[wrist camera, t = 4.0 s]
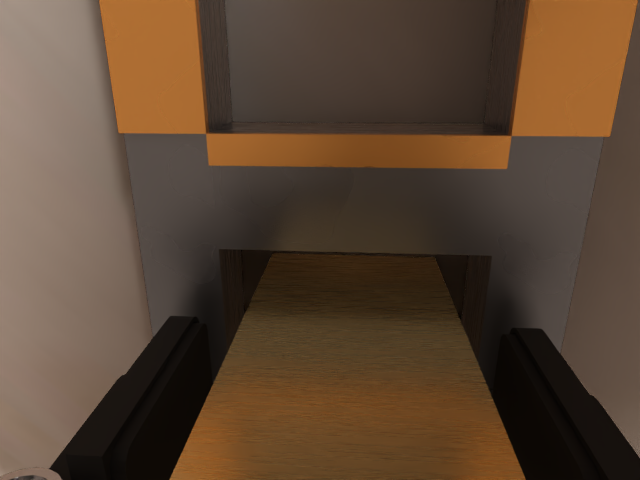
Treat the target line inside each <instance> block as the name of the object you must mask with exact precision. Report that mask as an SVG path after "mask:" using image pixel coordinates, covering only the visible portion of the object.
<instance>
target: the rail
mask: <svg viewBox="0 0 640 480" xmlns="http://www.w3.org/2000/svg"><path fill="white" fill-rule="evenodd" d="M99 3H100V10H101V17H102V23H103V30H104V37H105V44H106V51H107V58H108V64H109V71H110V78H111V85H112V92H113V98H114V105H115V112H116V119H117V126H118V132H119V133H124V139H125V146H126V153H127V160H128V167H129V174H130V181H131V188H132V195H133V202H134V209H135V216H136V223H137V230H138V237H139V244H140V251H141V258H142V265H143V272H144V279H145V286H146V293H147V300H148V307H149V314H150V321H151V328H152V334H153V337H154V336H155V335H156V333H157V332H158V331H159V329H160V328H161V327H162V325H163V324H164V323H165V321H166V320H167V319H168V318H169V317H170V316H195V317H197V318H198V320H199V323H205V324H206V326H207V330H208V340H209V350H210V360H211V371H212V381H213V383H214V381H215V379H216V377H217V374H218V372H219V370H220V368H221V366H222V363H223V361H224V359H225V357H226V355H227V352H228V350H229V348H230V346H231V344H232V341H233V339H234V337H235V335H236V333H237V330H238V328H239V326H240V324H241V322H242V319H243V317H244V315H245V309H244V293H243V278H242V263H241V250H278V251H319V252H360V253H401V254H442V255H469V256H468V265H467V273H466V282H465V291H464V300H463V308H462V317H461V323H462V325H463V328H464V330H465V333H466V335H467V338H468V340H469V342H470V345H471V347H472V350H473V352H474V355H475V357H476V360H477V362H478V364H479V367H480V369H481V372H482V374H483V377H484V379H485V382H486V384H487V386H488V389H489V391H490V394H491V396H492V392H493V385H494V378H495V372H496V365H497V358H498V351H499V345H500V339H501V336H502V335H503V334H509V333H510V331H511V329H512V328H540V329H542V330H543V331H544V332H545V333H546V334H547V336H548V337H549V339H550V340H551V341H552V343H553V344H554V346H555V347H556V348H557V350H558V351H559V353H561V348H562V343H563V338H564V333H565V328H566V323H567V318H568V313H569V308H570V303H571V298H572V294H573V289H574V284H575V279H576V274H577V269H578V264H579V259H580V254H581V249H582V244H583V239H584V234H585V229H586V224H587V219H588V214H589V209H590V204H591V199H592V194H593V189H594V184H595V179H596V174H597V169H598V164H599V159H600V154H601V150H602V145H603V140H604V137H610V134H611V129H612V124H613V119H614V115H615V110H616V105H617V100H618V95H619V90H620V85H621V80H622V76H623V71H624V66H625V61H626V56H627V51H628V46H629V42H630V37H631V32H632V27H633V22H634V17H635V12H636V7H637V3H638V0H498V1H497V10H496V18H495V27H494V36H493V45H492V53H491V62H490V71H489V80H488V89H487V97H486V106H485V115H484V124H456V123H268V122H232V108H231V93H230V77H229V62H228V47H227V31H226V16H225V0H99Z"/></svg>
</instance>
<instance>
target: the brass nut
mask: <svg viewBox="0 0 640 480" xmlns="http://www.w3.org/2000/svg"><path fill="white" fill-rule="evenodd" d="M170 480H526V479H525V477H524V474H523V472H522V469H521V467H520V464H519V462H518V460H517V457H516V455H515V452H514V450H513V447H512V445H511V442H510V440H509V438H508V435H507V433H506V430H505V428H504V425H503V423H502V421H501V418H500V416H499V413H498V411H497V408H496V406H495V403H494V401H493V399H492V396H491V394H490V391H489V389H488V386H487V384H486V382H485V379H484V377H483V374H482V372H481V369H480V367H479V364H478V362H477V360H476V357H475V355H474V352H473V350H472V347H471V345H470V342H469V340H468V338H467V335H466V333H465V330H464V328H463V325H462V323H461V321H460V318H459V316H458V313H457V311H456V308H455V306H454V303H453V301H452V299H451V296H450V294H449V291H448V289H447V286H446V284H445V282H444V279H443V277H442V274H441V272H440V269H439V267H438V264H437V262H436V260H435V257H412V256H371V255H331V254H291V253H273V254H272V256H271V258H270V260H269V262H268V265H267V267H266V269H265V271H264V273H263V276H262V278H261V280H260V282H259V284H258V286H257V289H256V291H255V293H254V295H253V297H252V300H251V302H250V304H249V306H248V308H247V311H246V313H245V315H244V317H243V319H242V322H241V324H240V326H239V328H238V330H237V333H236V335H235V337H234V339H233V341H232V344H231V346H230V348H229V350H228V352H227V355H226V357H225V359H224V361H223V363H222V366H221V368H220V370H219V372H218V374H217V377H216V379H215V381H214V383H213V385H212V388H211V390H210V392H209V394H208V396H207V398H206V401H205V403H204V405H203V407H202V409H201V412H200V414H199V416H198V418H197V420H196V423H195V425H194V427H193V429H192V431H191V434H190V436H189V438H188V440H187V442H186V445H185V447H184V449H183V451H182V453H181V456H180V458H179V460H178V462H177V464H176V467H175V469H174V471H173V473H172V475H171V478H170Z"/></svg>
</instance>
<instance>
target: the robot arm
mask: <svg viewBox="0 0 640 480" xmlns="http://www.w3.org/2000/svg"><path fill="white" fill-rule="evenodd" d="M212 385H213V381H212V371H211V360H210V350H209V340H208V330H207V326H206V324H205V323H199V320H198V318H197V317H195V316H170V317H169V318H168V319H167V320H166V321H165V323H164V324H163V325H162V327H161V328H160V329H159V331H158V332H157V333H156V335H155V336H154V337H153V339H152V340H151V341H150V343H149V344H148V345H147V347H146V348H145V349H144V351H143V352H142V353H141V355H140V356H139V357H138V359H137V360H136V361H135V363H134V364H133V365H132V367H131V368H130V369H129V371H128V372H127V373H126V374H125V375H122V376H121V377H120V378H119V379H118V380H117V381H116V382H115V384H114V385H113V386H112V388H111V389H110V390H109V391H108V393H107V394H106V395H105V397H104V398H103V399H102V401H101V402H100V403H99V404H98V406H97V407H96V408H95V410H94V411H93V412H92V414H91V415H90V416H89V418H88V419H87V420H86V421H85V423H84V424H83V425H82V427H81V428H80V429H79V431H78V432H77V433H76V434H75V436H74V437H73V438H72V440H71V441H70V442H69V444H68V445H67V446H66V447H65V449H64V450H63V451H62V453H61V454H60V455H59V457H58V458H57V459H56V461H55V462H54V463H53V464H52V466H51V467H50V468H49V469H45V468H38V467H35V468H27V469H20V470H17V471H14V472H11V473H8V474H5V475H3V476H1V477H0V480H170V478H171V475H172V473H173V471H174V469H175V467H176V464H177V462H178V460H179V458H180V456H181V453H182V451H183V449H184V447H185V445H186V442H187V440H188V438H189V436H190V434H191V431H192V429H193V427H194V425H195V423H196V420H197V418H198V416H199V414H200V412H201V409H202V407H203V405H204V403H205V401H206V398H207V396H208V394H209V392H210V390H211V388H212ZM492 399H493V401H494V403H495V406H496V408H497V411H498V413H499V416H500V418H501V421H502V423H503V425H504V428H505V430H506V433H507V435H508V438H509V440H510V442H511V445H512V447H513V450H514V452H515V455H516V457H517V460H518V462H519V464H520V467H521V469H522V472H523V474H524V477H525V479H526V480H640V458H639V456H638V455H637V454H636V452H635V451H634V450H633V448H632V447H631V445H630V444H629V443H628V441H627V440H626V439H625V437H624V436H623V434H622V433H621V432H620V430H619V429H618V428H617V426H616V425H615V423H614V422H613V421H612V419H611V418H610V416H609V415H608V414H607V412H606V411H605V410H604V408H603V407H602V405H601V404H600V403H599V401H598V400H597V399H596V398H595V397H594V396H592V395H589V393H588V392H587V391H586V389H585V388H584V386H583V385H582V384H581V382H580V381H579V379H578V378H577V377H576V375H575V374H574V372H573V371H572V370H571V368H570V367H569V365H568V364H567V363H566V361H565V360H564V358H563V357H562V356H561V354H560V353H559V351H558V350H557V348H556V347H555V346H554V344H553V343H552V341H551V340H550V339H549V337H548V336H547V334H546V333H545V332H544V331H543V330H542V329H540V328H512V329H511V331H510V333H509V334H503V335H502V336H501V339H500V345H499V351H498V358H497V365H496V372H495V378H494V385H493V392H492Z"/></svg>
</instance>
